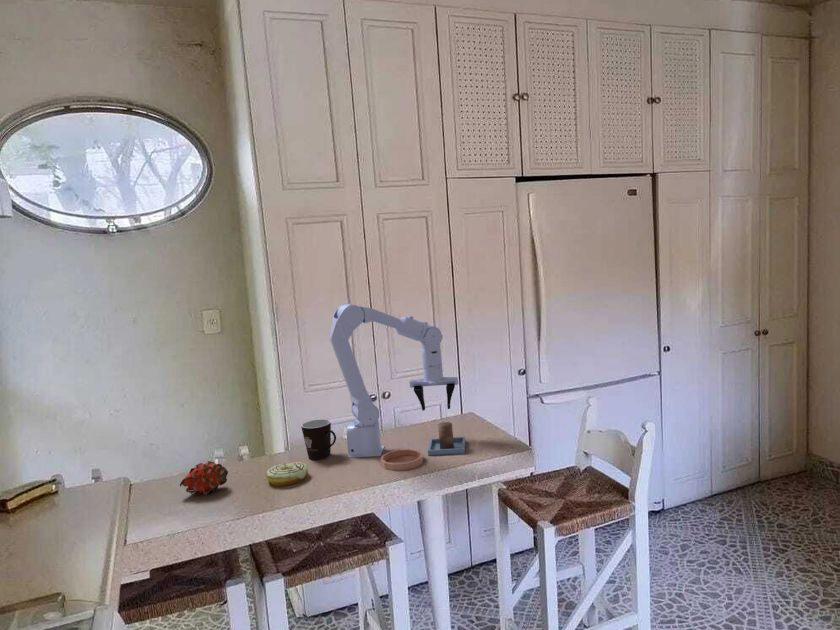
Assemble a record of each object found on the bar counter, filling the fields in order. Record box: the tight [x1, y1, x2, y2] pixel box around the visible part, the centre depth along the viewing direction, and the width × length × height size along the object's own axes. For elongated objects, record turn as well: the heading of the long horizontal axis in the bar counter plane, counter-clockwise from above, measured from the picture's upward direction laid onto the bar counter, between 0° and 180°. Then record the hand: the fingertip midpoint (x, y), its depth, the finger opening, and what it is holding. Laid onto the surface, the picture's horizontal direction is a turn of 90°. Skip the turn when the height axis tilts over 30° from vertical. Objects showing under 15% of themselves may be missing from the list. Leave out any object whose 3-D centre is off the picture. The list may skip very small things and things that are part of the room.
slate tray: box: [427, 436, 466, 457], centre depth 165 cm, size 10×10×2 cm
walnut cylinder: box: [437, 421, 454, 449], centre depth 165 cm, size 4×4×7 cm
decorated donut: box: [266, 461, 309, 487], centre depth 154 cm, size 10×11×4 cm
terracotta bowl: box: [379, 448, 424, 471], centre depth 158 cm, size 11×11×2 cm
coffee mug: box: [300, 418, 337, 461], centre depth 168 cm, size 12×9×10 cm
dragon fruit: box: [179, 460, 229, 496], centre depth 150 cm, size 8×8×12 cm
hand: (436, 408), depth 175 cm, fingers open, 7 cm apart
